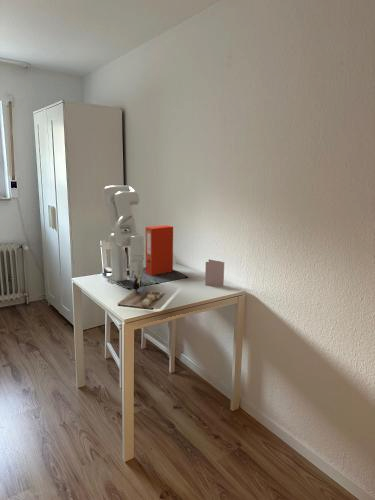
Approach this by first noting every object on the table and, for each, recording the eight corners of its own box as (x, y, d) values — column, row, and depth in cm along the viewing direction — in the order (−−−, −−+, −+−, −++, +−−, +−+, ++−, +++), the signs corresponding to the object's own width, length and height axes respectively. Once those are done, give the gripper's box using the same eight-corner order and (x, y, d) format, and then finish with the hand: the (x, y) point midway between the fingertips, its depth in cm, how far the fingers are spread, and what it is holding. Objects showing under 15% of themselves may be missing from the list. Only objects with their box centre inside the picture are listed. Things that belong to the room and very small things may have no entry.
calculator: (129, 269, 242) (107, 270, 235) (129, 275, 243) (107, 277, 236) (124, 265, 252) (103, 266, 245) (124, 271, 253) (103, 273, 246)
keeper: (137, 297, 195) (137, 289, 194) (142, 292, 202) (142, 285, 201) (140, 297, 194) (140, 290, 194) (145, 293, 201) (145, 286, 200)
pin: (134, 292, 202) (134, 277, 200) (136, 291, 205) (136, 275, 203) (139, 293, 201) (138, 277, 199) (140, 291, 204) (140, 276, 202)
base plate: (117, 306, 186) (117, 303, 185) (134, 292, 206) (134, 290, 206) (152, 310, 181) (152, 307, 181) (165, 295, 202) (165, 293, 201)
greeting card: (224, 285, 222) (225, 261, 219) (217, 288, 217) (218, 264, 213) (208, 281, 229) (209, 259, 226) (202, 284, 223) (202, 261, 220)
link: (151, 293, 199) (151, 290, 199) (162, 294, 198) (162, 291, 197) (138, 305, 182) (138, 301, 182) (150, 306, 181) (150, 302, 180)
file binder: (172, 271, 251) (173, 226, 244) (151, 275, 240) (151, 228, 233) (166, 269, 257) (166, 225, 250) (145, 272, 247) (145, 227, 240)
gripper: (136, 253, 207) (137, 283, 211) (124, 260, 192) (125, 292, 196) (148, 254, 205) (148, 285, 209) (137, 261, 190) (138, 293, 194)
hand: (137, 288), depth 202 cm, fingers closed on pin, 2 cm apart
